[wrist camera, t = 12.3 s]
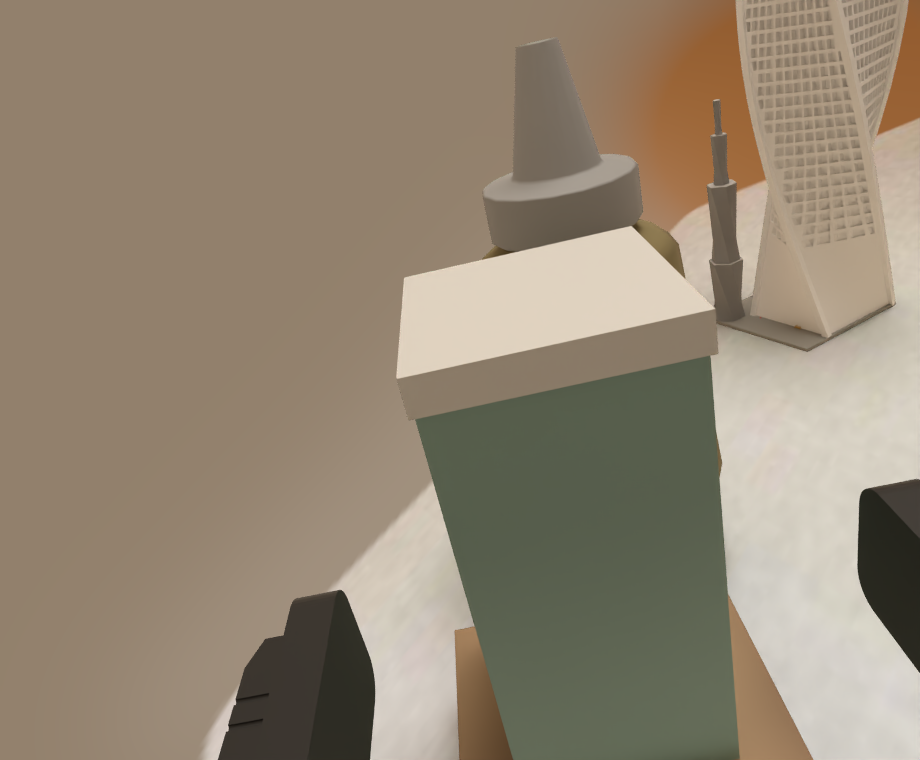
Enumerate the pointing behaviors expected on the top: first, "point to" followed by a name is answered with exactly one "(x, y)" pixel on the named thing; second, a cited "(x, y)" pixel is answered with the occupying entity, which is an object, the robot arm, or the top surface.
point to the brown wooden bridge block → (757, 699)
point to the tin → (581, 492)
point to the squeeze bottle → (562, 170)
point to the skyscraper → (809, 169)
